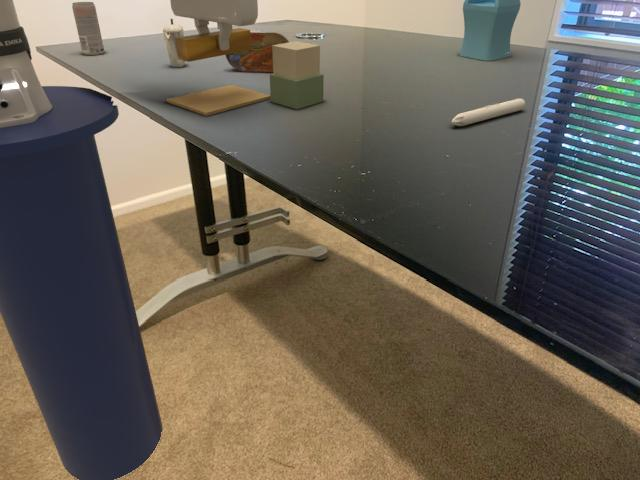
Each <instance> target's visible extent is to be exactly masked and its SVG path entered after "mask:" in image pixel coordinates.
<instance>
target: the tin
mask: <svg viewBox="0 0 640 480" xmlns="http://www.w3.org/2000/svg"><path fill="white" fill-rule="evenodd" d="M250 35H251V50H248V51H243V52H238V53H232V54H227V55H225V59H226V61H227V62H228V64H229V65H230V67H232V68H233V69H235V70H236V71H239V72H241V73H247V72H248V73H250V72H251V73H252V72H253V73H273V53H272V45H278V44H283V43H289V42H290V41H289V39H288V38H286V37H285V36H284V35H283V34H281V33H279V32H267V31H265V32H264V31H263V32H250Z"/></svg>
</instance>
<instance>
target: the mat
mask: <svg viewBox="0 0 640 480" xmlns="http://www.w3.org/2000/svg"><path fill="white" fill-rule="evenodd" d="M267 100H271V95H270V94H267V93H262V92H259V91H255V90H252V89H249V88H245V87H242V86H241V87H240V86H237V85H234V84H228V85H224V86H219V87H215V88H211V89H206V90H201V91H197V92H192V93H188V94H184V95H180V96H175V97H171V98H167V99H166V102H167V103H168V104H171V105H173V106H177V107H179V108H182V109H185V110H188V111H191V112H194V113H197V114H200V115H202V116H204V117H208V116H211V115H212V116H213V115H215V114H219V113H223V112H226V111H231V110H235V109H238V108H241V107H245V106H248V105H253V104H256V103H257V104H258V103H260V102H263V101H267Z"/></svg>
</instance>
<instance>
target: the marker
mask: <svg viewBox="0 0 640 480" xmlns="http://www.w3.org/2000/svg"><path fill="white" fill-rule="evenodd" d="M525 107H526V101H525V100H524V99H523V98H515V99H512V100H508V101H503V102H500V103H494V104H489V105H484V106H483V107H479V108H475V109H472V110H469V111H464V112H461V113H458V114H456V115H455V116H453V118H452V120H451V124H452V125H454V126H457V127H464V126H468V125H471V124H472V125H473V124H475V123H478V122H482V121H486V120H490V119H492V118H493V119H494V118H497V117H502V116H505V115H508V114H513V113H515V112H520V111H522V110H523V109H525Z"/></svg>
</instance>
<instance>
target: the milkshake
mask: <svg viewBox="0 0 640 480" xmlns="http://www.w3.org/2000/svg"><path fill="white" fill-rule="evenodd" d="M162 33H163V38H164V41H165V45H166V50H167V53H168V58H169V63H170V67H171V68H183V67H185V66H186V63H185V62H186V61H183V60H179V59H178V53H177V46H176V39H175V38H178V37H184V27H183V26H182V25H181V24H174V20H173V18H170V24H166V25H165V26H164V27H163V28H162Z"/></svg>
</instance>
